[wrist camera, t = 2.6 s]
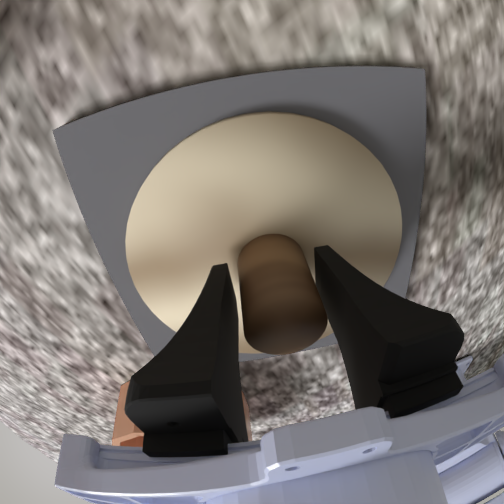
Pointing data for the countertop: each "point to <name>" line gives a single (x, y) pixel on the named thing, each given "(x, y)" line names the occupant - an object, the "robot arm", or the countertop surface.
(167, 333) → the mat
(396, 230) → the lid
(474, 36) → the countertop surface
